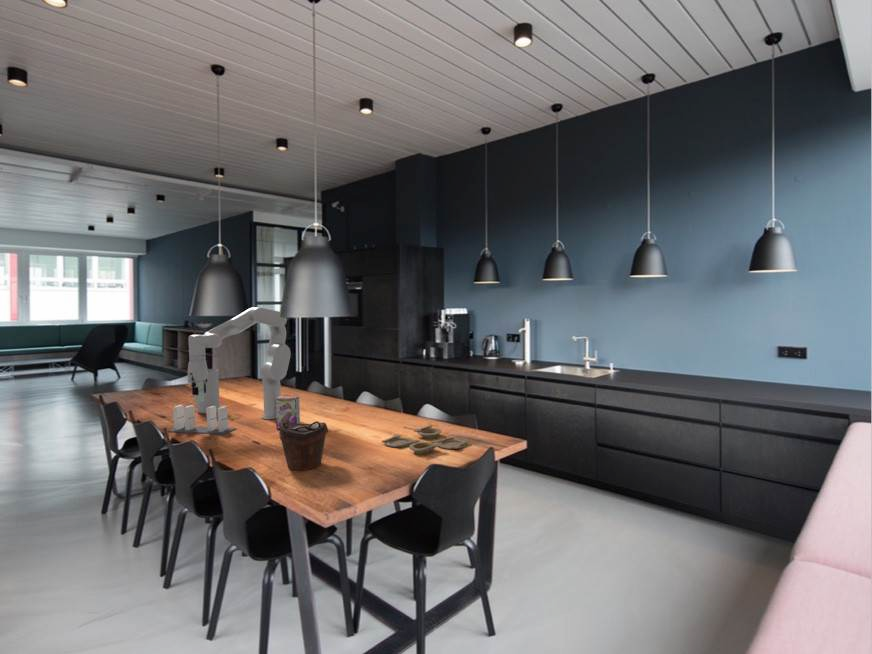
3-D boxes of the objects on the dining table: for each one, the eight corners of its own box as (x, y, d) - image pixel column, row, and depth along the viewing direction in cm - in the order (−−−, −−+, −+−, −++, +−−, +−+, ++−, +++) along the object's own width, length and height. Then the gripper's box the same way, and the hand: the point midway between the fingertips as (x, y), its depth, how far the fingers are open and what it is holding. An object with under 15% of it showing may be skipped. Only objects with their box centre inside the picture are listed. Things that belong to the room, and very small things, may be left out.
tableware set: (376, 443, 228) (376, 434, 227) (426, 431, 246) (426, 423, 246) (424, 461, 201) (424, 451, 201) (475, 446, 220) (475, 437, 219)
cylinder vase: (214, 413, 294) (212, 371, 293) (193, 413, 295) (191, 372, 293) (223, 408, 307) (221, 368, 305) (203, 409, 307) (201, 369, 306)
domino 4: (217, 428, 257) (216, 405, 256) (210, 431, 252) (209, 408, 251) (213, 428, 257) (212, 405, 257) (207, 431, 252) (206, 408, 252)
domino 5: (228, 429, 255) (227, 406, 255) (222, 431, 251) (220, 408, 250) (224, 429, 256) (223, 406, 255) (218, 431, 251) (217, 408, 250)
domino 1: (184, 427, 261) (183, 404, 260) (177, 429, 256) (176, 407, 256) (181, 427, 262) (180, 404, 261) (174, 429, 257) (173, 406, 256)
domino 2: (195, 427, 260) (194, 405, 259) (188, 430, 255) (187, 407, 254) (192, 427, 260) (190, 405, 259) (185, 430, 255) (184, 407, 255)
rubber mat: (236, 429, 257) (236, 428, 257) (224, 434, 248) (224, 433, 248) (181, 426, 265) (181, 425, 265) (167, 431, 255) (167, 431, 255)
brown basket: (339, 463, 200) (337, 419, 199) (296, 477, 185) (293, 430, 184) (314, 455, 212) (311, 413, 211) (271, 468, 197) (268, 423, 196)
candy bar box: (276, 429, 254) (274, 398, 253) (280, 427, 259) (278, 396, 258) (297, 429, 253) (295, 398, 252) (300, 427, 258) (299, 396, 257)
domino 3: (204, 401, 258) (203, 378, 257) (198, 403, 253) (196, 379, 252) (201, 400, 258) (200, 378, 257) (194, 403, 253) (193, 379, 252)
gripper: (202, 356, 263) (204, 390, 264) (179, 360, 247) (181, 397, 248) (214, 356, 261) (216, 390, 263) (192, 360, 245) (194, 397, 246)
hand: (199, 393), depth 255 cm, fingers closed on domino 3, 4 cm apart
